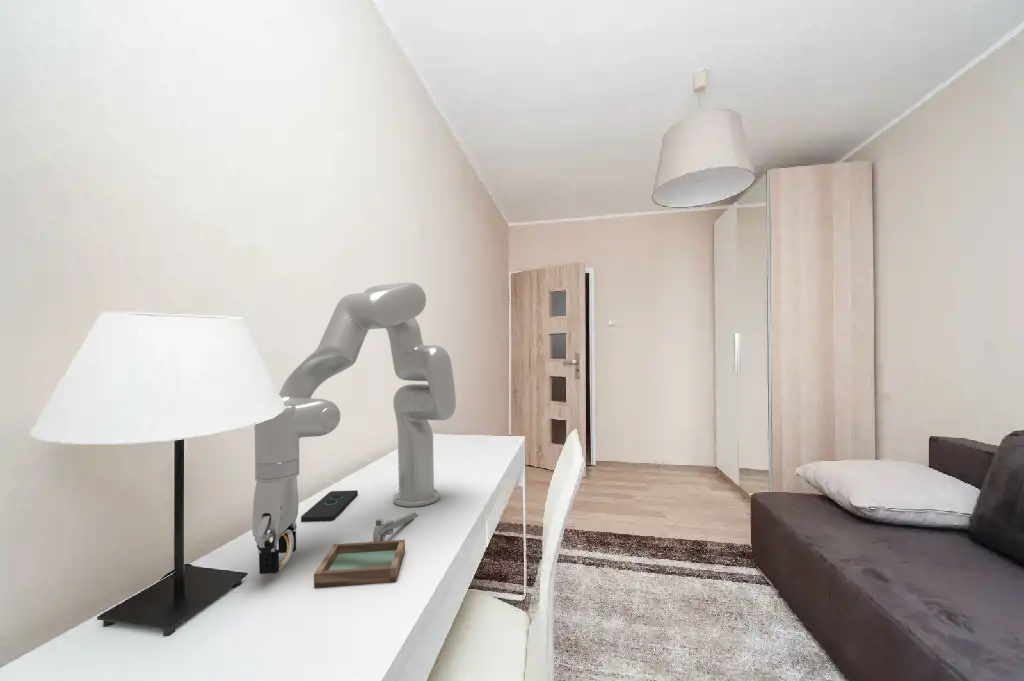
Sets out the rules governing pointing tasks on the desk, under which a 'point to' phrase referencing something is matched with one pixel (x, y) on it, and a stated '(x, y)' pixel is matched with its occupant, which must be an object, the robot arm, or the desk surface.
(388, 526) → the caliper
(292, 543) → the ring
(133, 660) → the desk surface
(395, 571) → the jewellery tray
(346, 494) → the smart home device
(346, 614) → the desk surface
